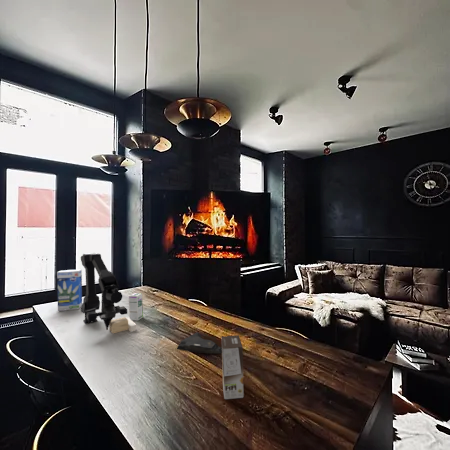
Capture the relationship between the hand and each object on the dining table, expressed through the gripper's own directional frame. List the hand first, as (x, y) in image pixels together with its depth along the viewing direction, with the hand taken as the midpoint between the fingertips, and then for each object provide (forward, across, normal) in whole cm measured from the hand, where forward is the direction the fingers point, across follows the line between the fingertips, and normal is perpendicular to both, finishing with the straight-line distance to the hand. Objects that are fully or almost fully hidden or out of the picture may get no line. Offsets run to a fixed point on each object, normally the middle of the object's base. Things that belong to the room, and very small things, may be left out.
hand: (107, 329), depth 134 cm
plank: (+1, +11, 0) cm, 11 cm away
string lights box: (+2, -10, +60) cm, 61 cm away
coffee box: (+1, +23, -77) cm, 80 cm away
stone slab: (+1, +30, -44) cm, 53 cm away
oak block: (+1, +6, 0) cm, 6 cm away
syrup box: (+1, +18, +10) cm, 21 cm away
